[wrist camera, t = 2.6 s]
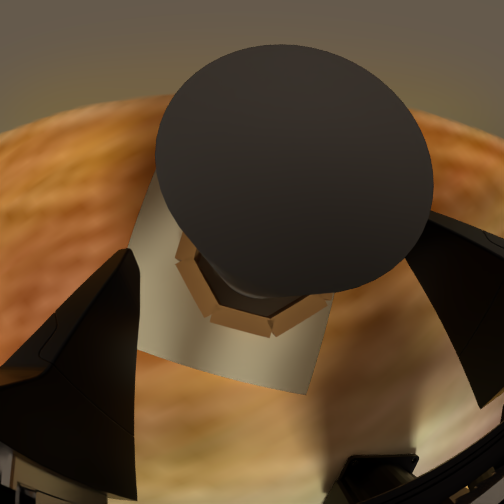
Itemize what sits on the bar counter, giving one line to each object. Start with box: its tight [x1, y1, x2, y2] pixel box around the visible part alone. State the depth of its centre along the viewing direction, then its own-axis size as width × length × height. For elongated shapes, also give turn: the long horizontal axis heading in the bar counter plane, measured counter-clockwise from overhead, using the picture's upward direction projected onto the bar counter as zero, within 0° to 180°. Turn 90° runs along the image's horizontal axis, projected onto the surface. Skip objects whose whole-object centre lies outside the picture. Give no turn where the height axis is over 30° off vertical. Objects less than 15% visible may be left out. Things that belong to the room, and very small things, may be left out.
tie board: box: [128, 170, 334, 395], centre depth 16 cm, size 13×13×2 cm
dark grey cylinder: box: [155, 45, 434, 299], centre depth 11 cm, size 5×5×13 cm
